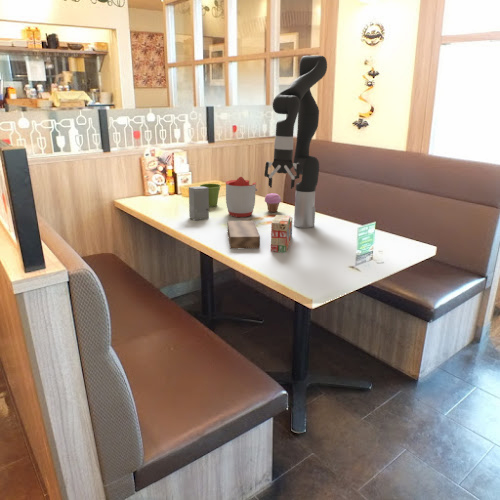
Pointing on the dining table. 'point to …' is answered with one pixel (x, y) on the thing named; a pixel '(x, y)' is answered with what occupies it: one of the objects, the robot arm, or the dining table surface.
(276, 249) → the stack of blocks
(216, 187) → the plant pot
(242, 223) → the walnut block
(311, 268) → the dining table surface
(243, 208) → the citrus juicer
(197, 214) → the skincare box
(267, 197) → the cupcake
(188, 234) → the dining table surface
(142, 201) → the dining table surface
